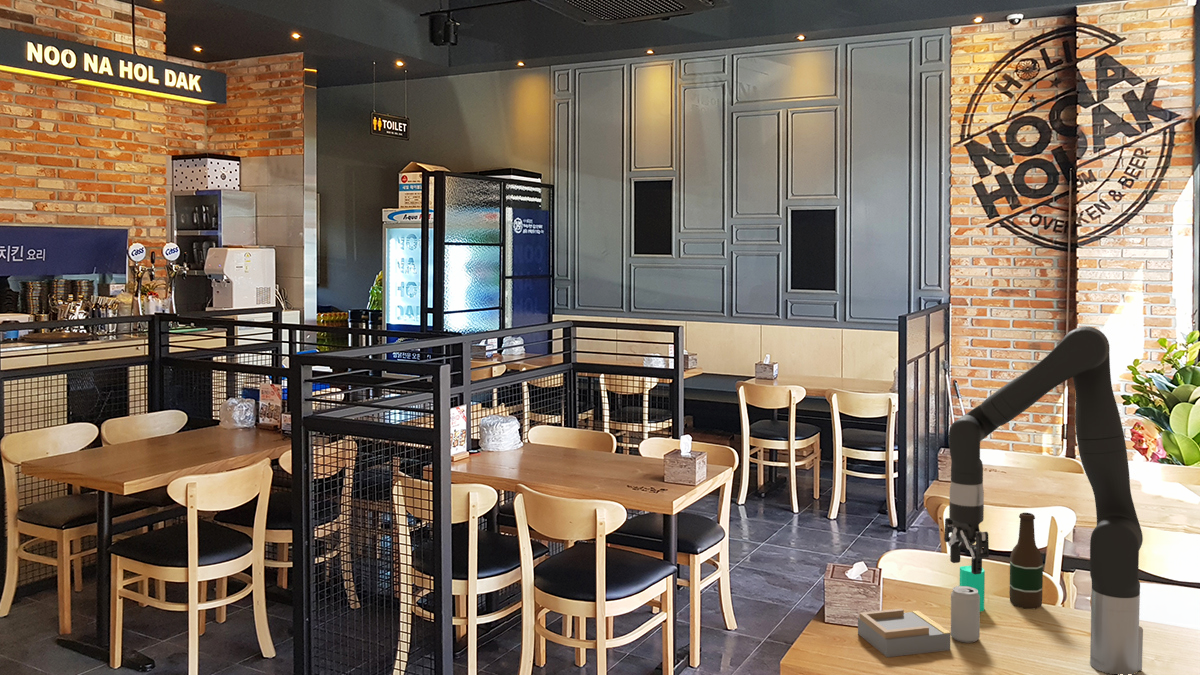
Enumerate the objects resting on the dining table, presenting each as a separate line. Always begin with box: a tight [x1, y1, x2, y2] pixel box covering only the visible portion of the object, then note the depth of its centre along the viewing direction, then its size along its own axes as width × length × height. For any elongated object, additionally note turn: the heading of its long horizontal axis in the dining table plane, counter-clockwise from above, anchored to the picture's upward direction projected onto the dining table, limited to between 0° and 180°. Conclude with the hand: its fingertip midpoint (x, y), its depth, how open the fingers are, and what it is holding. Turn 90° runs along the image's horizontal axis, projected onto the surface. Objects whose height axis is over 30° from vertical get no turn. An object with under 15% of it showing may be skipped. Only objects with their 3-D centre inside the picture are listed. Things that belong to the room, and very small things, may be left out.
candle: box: [959, 565, 986, 613], centre depth 240 cm, size 6×6×12 cm
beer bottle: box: [1009, 512, 1044, 610], centre depth 241 cm, size 8×8×24 cm
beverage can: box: [950, 585, 981, 644], centre depth 220 cm, size 6×6×12 cm
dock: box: [857, 608, 951, 658], centre depth 220 cm, size 16×14×6 cm
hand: (965, 567), depth 220 cm, fingers open, 8 cm apart
